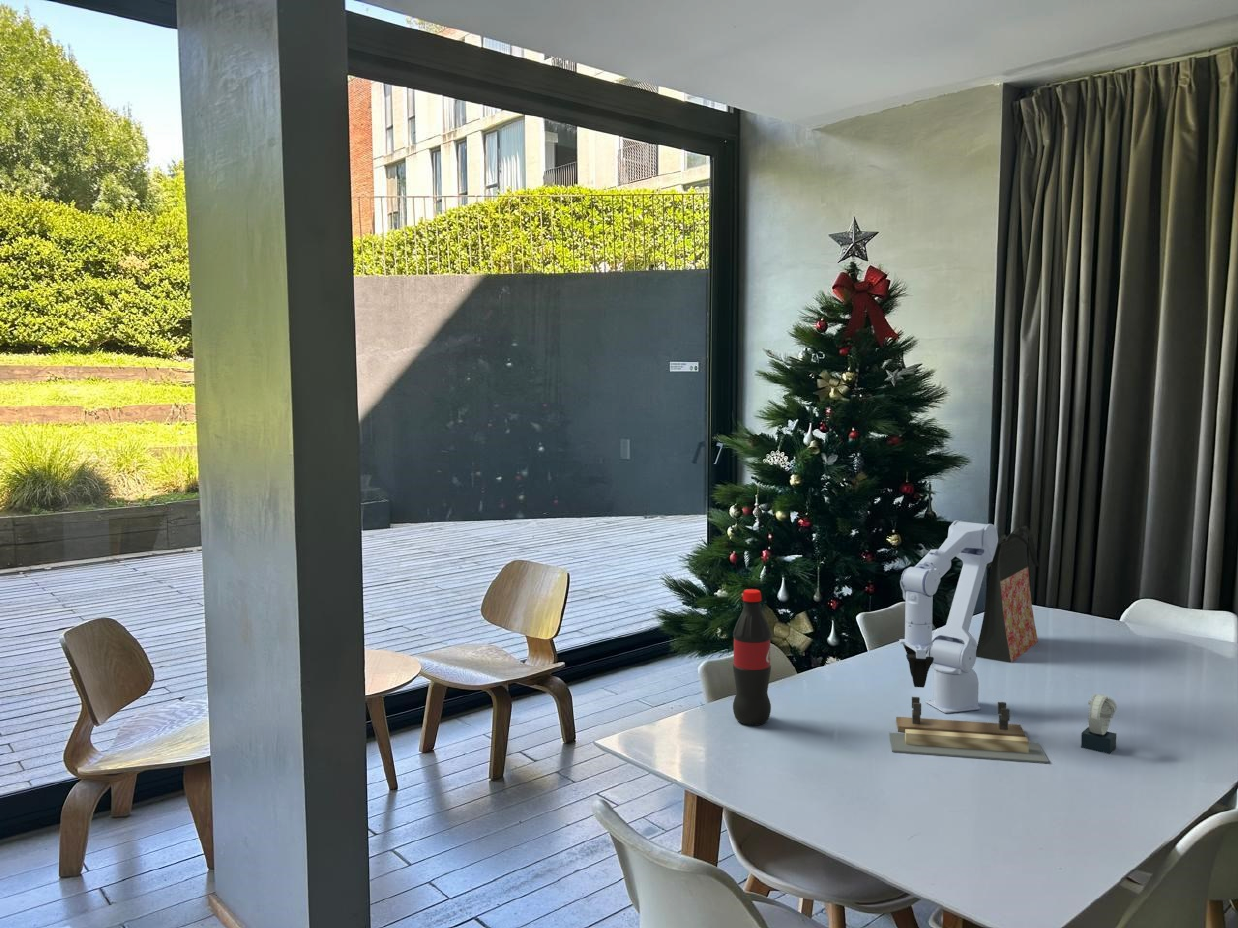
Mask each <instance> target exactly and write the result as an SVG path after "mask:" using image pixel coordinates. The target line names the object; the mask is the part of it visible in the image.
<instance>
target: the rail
mask: <svg viewBox="0 0 1238 928" xmlns="http://www.w3.org/2000/svg"><path fill="white" fill-rule="evenodd" d="M904 734H905V743H906V744H909V745H923V746H937V747H951V748H965V749H979V750H993V751H1007V752H1021V753H1029V742H1030V741H1029V739H1028V737H1027V736H1026V737H1016V736H1001V735H986V734H972V733H957V732H942V731H928V730H913V729H905V732H904Z"/></svg>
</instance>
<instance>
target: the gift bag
mask: <svg viewBox="0 0 1238 928" xmlns="http://www.w3.org/2000/svg"><path fill="white" fill-rule="evenodd" d="M1017 532H1019V534H1017ZM1028 551H1029V555H1030V559H1031V562H1032V564H1033V565H1034V566H1035V567H1037V568H1039V567H1040V566H1039V565H1040V564H1039V562H1038V557H1037V551H1036V548H1035V542H1034V539H1033V535H1032V533H1031V531H1030V529H1029V527H1028V526H1027V525H1023V526H1022V527H1019V526H1018V527H1016V528H1014V529H1013V530H1012V532H1010V533H1009V534H1007V535H1006V534H1003V535H1001V536H1000V538H998V543H997V547H996V551H995V554H994V557H993V561H992V562H990V563H988V564H987V565H986V569H989V568H990V570H989V578H988V585H987V592H986V600H985V607H984V611H983V618H982V621H981V622H982V623H981V627H980V632H979V637H978V641H977V648H976V658H980V659H987V660H993V661H999V662H1004V663H1010V664H1012V663H1013V662H1014V661H1015V660H1017V659H1018V658H1019V657H1020V656H1022V655H1023V654H1024V653H1026V652H1027V651H1028V650H1029V649H1031V648H1032V647H1034V646H1035V645H1036V644H1037V643H1038V642H1039V638H1038V634H1037V628H1036V621H1035V618H1034V611H1033V604H1032V596H1031V594H1032V593H1031V586H1030V575H1029V563H1028V562H1029V561H1028Z"/></svg>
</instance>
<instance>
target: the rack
mask: <svg viewBox="0 0 1238 928" xmlns="http://www.w3.org/2000/svg"><path fill="white" fill-rule="evenodd" d="M920 698H921V697H920V696H911V709H912V710H911V717H910V716H909V717H906V716H895V717H896V718H895V724H896V729H897V733H899V732H900V733H905V729H913V730H928V731H942V732H957V733H972V734H986V735H1001V736H1016V737H1027V735H1026V733H1025V731H1024V729H1023V727H1022V726H1021V724H1013V723H1009V722H1010V713H1011V712H1010V711H1011V710H1010V708H1007V702H1005V701H997V715H998V722H983V721H982V722H981V721H967V720H966V721H965V720H955V719H953V720H952V719H941V718H940V719H939V718H937V719H936V718H921V716H922V703H921V701H920V700H921V699H920Z"/></svg>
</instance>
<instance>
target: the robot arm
mask: <svg viewBox="0 0 1238 928" xmlns="http://www.w3.org/2000/svg"><path fill="white" fill-rule="evenodd" d="M998 540H999V536H998V531H997V528H996V526H995V525H994V524H992V523H978V522H969V521H960V520H958V519H956V520H954V521H953V522H952V523H951V524H950V525H949V527H948V533H947V538H945V540H944V541H943V543H942V544H941V546H940V547H939V548H936V549H930V550H929V551H928V552H927V553H926V554H925V556H924V557H923V558H922V559H921V560H919V561H918V563H917V564H916V565H915V566H909V567H907V568H905V569H904V570H903V571H902V574H901V577H900V580H899V585H900V589H901V590H902V598H903V600H904V601H905V606H904V607H905V608H904V610H905V611H904V613H905V614H904V618H905V619H904V638H900V639H898V641H899V642H898V643H899V644H900V645H903V648H904V649H905V652H906V654H905V656H906V659H907V661H908V666H909V671H910V675H911V677H912V678H911V679H912V683H913V687H914V688H925V685H926V683H927V678H928V673H929V671H930V668H932V669H934V670H933V673H934V674H933V675H934V676H933V678H934V679H933V699H927V700H926V701H925V703H927V704H929V705H930V706H932V707H934V708H935V709H936V710H939V711H941V712H942V713H945V714H950V713H957V712H967V711H975V710H980V709H981V707H980V706H979V688H980V687H979V683H980V682H979V678H978V673H976V671H975V670H974V669H973V668H974V666H975V664H976V659H977V657H976V649H977V645H978V642H977V641H976V639H975V638H974V636H973V635H972V634H970V632H969V630H970V626H971V623H972V620H973V617H974V616H973V615H974V613H975V609H976V604H977V601H978V597H979V594H980V590H981V587H982V584H983V583H982V582H983V580H984V575H985V572H986V569H987V568H986V566H987V564H988V563H990V562H992V561H993V557H994V554H995V551H996V547H997V543H998ZM955 557H956V558H957V559H959V560H961V561H962V567H961V571H960V574H959V578H958V581H957V585H956V589H955V592H954V594H953V595H954V596H953V599H952V602H951V605H950V610H949V614H948V616H947V619H946V624H945V625H943V626H942V627H940V628H937V629H936V630H934V631H933V602H934V601H933V599H934V598H933V597H934V595H935V594H936V593H937V591H938V588H939V585H940V583H941V578H942V577H943V576H944V575H945V574H946V573H947V572H948V571H950V569H951V567H952V560H953V559H954V558H955Z"/></svg>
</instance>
